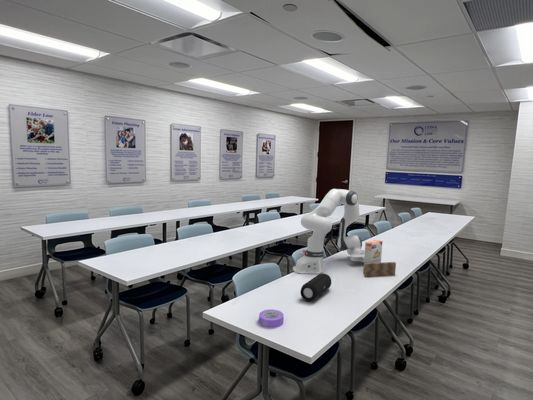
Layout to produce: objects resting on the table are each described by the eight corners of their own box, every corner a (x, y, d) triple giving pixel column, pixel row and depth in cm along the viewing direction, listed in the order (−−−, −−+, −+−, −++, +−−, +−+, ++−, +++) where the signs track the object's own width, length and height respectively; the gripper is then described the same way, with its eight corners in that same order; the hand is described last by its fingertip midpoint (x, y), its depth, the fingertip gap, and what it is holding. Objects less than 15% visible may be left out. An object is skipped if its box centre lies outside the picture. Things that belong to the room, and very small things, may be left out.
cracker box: (370, 272, 237) (372, 243, 235) (363, 270, 242) (364, 242, 239) (381, 269, 246) (382, 240, 244) (373, 267, 251) (375, 239, 248)
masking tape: (255, 325, 159) (255, 317, 159) (264, 314, 170) (264, 307, 170) (278, 330, 155) (279, 322, 155) (286, 319, 166) (286, 311, 166)
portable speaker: (315, 304, 183) (315, 286, 182) (298, 300, 189) (299, 283, 187) (332, 289, 205) (333, 273, 204) (317, 286, 210) (317, 270, 209)
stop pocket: (365, 277, 228) (366, 264, 227) (360, 273, 235) (361, 261, 234) (395, 275, 233) (395, 262, 232) (389, 272, 239) (390, 259, 238)
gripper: (347, 251, 258) (355, 256, 244) (371, 250, 262) (381, 255, 248) (346, 259, 258) (355, 265, 245) (371, 258, 262) (380, 264, 249)
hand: (368, 260), depth 247 cm, fingers closed
